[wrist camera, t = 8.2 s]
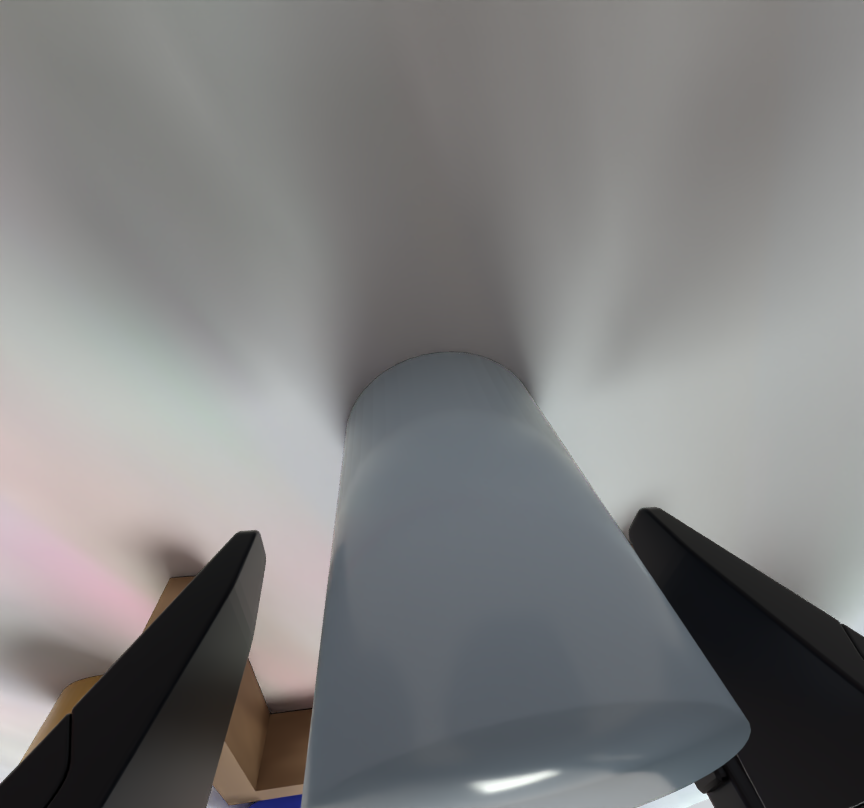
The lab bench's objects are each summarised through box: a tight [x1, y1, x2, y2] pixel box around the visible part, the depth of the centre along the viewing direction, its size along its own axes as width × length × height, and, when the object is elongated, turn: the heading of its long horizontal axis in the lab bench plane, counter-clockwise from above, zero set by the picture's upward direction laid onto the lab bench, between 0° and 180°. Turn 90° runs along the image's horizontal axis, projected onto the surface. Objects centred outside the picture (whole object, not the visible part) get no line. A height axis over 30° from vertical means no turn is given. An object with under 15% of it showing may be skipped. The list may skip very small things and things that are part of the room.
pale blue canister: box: [301, 352, 751, 808], centre depth 9 cm, size 6×9×8 cm
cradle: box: [143, 544, 634, 805], centre depth 17 cm, size 19×14×3 cm
